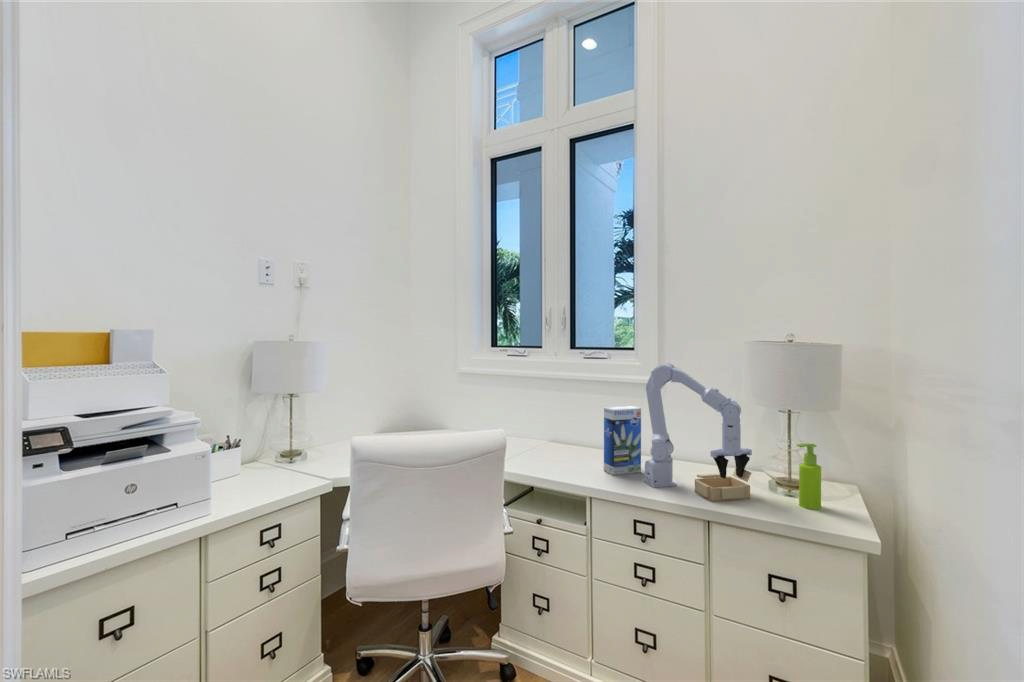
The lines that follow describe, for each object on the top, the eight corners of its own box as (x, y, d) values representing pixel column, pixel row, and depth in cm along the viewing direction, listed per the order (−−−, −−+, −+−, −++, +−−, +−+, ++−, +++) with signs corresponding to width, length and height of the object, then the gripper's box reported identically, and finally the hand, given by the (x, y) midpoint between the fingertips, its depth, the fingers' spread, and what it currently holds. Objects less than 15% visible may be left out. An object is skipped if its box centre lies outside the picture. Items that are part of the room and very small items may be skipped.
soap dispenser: (791, 502, 150) (792, 441, 150) (813, 503, 150) (813, 441, 149) (802, 509, 144) (803, 446, 144) (825, 509, 144) (825, 446, 143)
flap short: (745, 481, 155) (749, 471, 155) (732, 475, 161) (736, 466, 162) (747, 482, 155) (751, 472, 155) (734, 476, 162) (738, 467, 162)
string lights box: (612, 475, 179) (612, 409, 179) (602, 470, 186) (602, 406, 186) (641, 472, 183) (641, 407, 183) (631, 467, 191) (631, 405, 190)
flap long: (702, 475, 161) (696, 474, 165) (702, 478, 161) (697, 477, 164) (722, 474, 163) (716, 473, 166) (722, 476, 163) (716, 475, 166)
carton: (711, 503, 150) (711, 489, 150) (692, 492, 160) (692, 478, 160) (752, 500, 152) (752, 486, 152) (730, 489, 163) (730, 476, 163)
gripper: (719, 441, 152) (719, 482, 152) (758, 438, 155) (758, 479, 155) (706, 436, 159) (706, 475, 159) (743, 434, 162) (743, 472, 162)
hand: (731, 476), depth 158 cm, fingers open, 6 cm apart
